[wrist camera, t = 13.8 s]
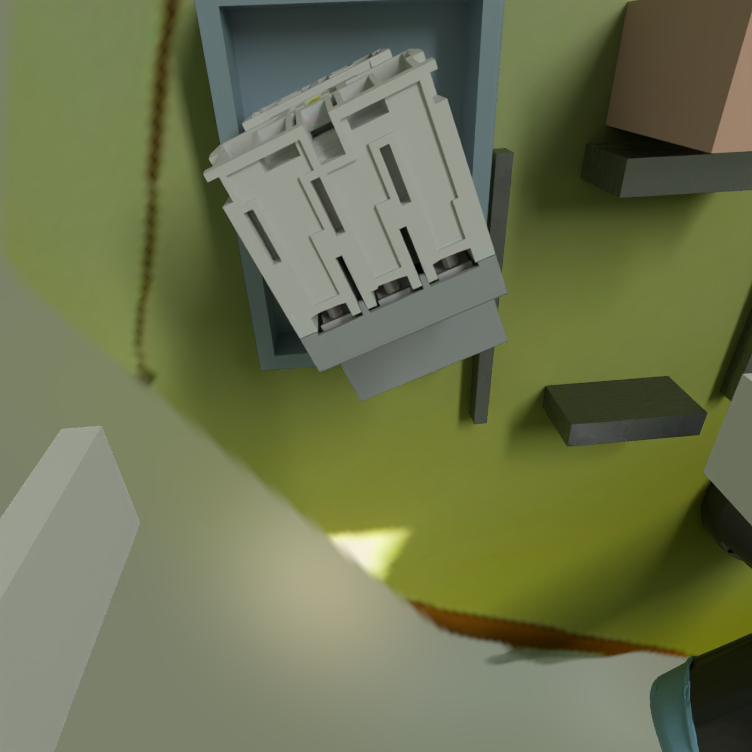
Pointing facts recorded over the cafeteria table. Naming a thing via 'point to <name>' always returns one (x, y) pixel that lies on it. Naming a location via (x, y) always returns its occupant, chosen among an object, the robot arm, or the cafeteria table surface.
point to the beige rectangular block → (686, 73)
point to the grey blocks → (631, 396)
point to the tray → (327, 54)
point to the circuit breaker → (367, 222)
